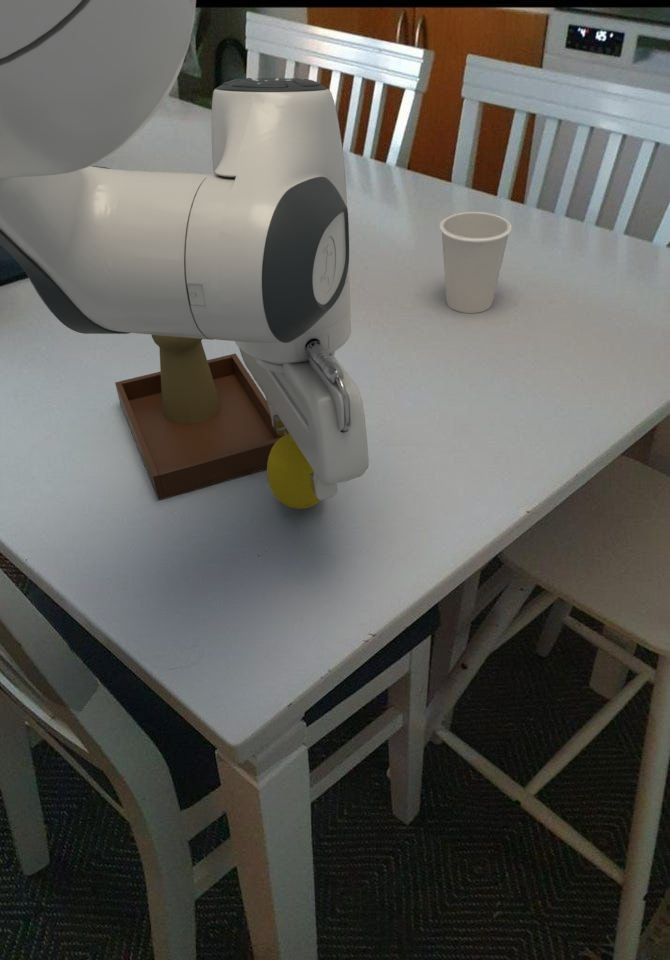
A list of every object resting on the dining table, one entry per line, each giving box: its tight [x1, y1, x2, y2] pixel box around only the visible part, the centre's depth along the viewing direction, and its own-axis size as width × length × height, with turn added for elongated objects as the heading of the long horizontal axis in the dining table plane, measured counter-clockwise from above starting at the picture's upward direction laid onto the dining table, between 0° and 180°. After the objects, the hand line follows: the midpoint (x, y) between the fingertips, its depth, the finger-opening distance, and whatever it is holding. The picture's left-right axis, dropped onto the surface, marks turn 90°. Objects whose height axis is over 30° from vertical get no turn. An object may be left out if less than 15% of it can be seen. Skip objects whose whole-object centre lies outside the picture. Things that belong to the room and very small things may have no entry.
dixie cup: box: [439, 211, 513, 314], centre depth 98 cm, size 8×8×10 cm
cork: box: [151, 335, 221, 424], centre depth 81 cm, size 6×6×11 cm
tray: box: [114, 353, 287, 501], centre depth 81 cm, size 13×17×3 cm
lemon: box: [266, 434, 321, 510], centre depth 70 cm, size 6×6×8 cm
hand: (303, 460), depth 69 cm, fingers open, 8 cm apart
